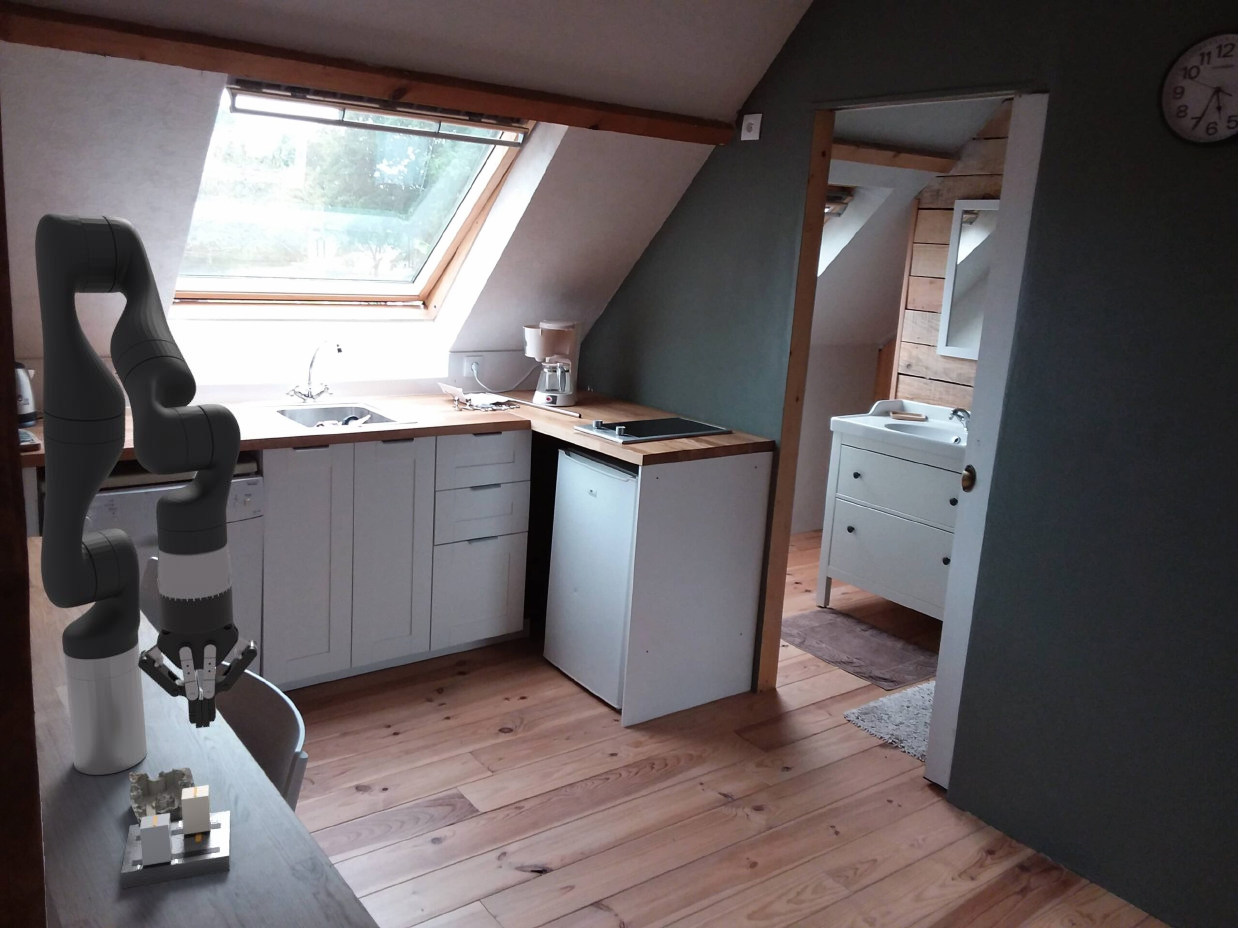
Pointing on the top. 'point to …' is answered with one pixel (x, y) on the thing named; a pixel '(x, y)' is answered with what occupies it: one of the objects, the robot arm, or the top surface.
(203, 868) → the fader console
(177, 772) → the egg carton
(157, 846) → the slate fader cap
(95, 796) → the top surface
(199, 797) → the ivory cap
